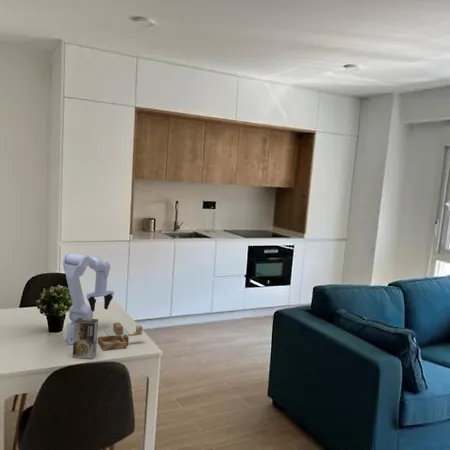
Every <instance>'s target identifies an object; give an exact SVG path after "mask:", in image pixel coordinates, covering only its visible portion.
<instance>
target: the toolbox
mask: <svg viewBox="0 0 450 450" xmlns="http://www.w3.org/2000/svg"><path fill="white" fill-rule="evenodd" d="M129 337H130V336H127V335H124V337H122V336H121V335H112V336H108V335H103V336H97V345H99V347H100V349H101V350H102V351H112V350H116V351H117V350H124V349H127V348H128V347H127V346H129Z"/></svg>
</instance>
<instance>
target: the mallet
mask: <svg viewBox="0 0 450 450" xmlns="http://www.w3.org/2000/svg"><path fill="white" fill-rule="evenodd" d="M128 335H129V336H128V337H134V336H135V337H136V336H141V335H143V326H142V325H140V324H139V325H136V327H135V331H131V332H129V333H128Z"/></svg>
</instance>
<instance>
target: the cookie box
mask: <svg viewBox="0 0 450 450" xmlns="http://www.w3.org/2000/svg"><path fill="white" fill-rule="evenodd" d="M98 327H99V319H98V318H92V319H87V318H78V319H77V320H76V322H75V323H74V343H73V344H72V345H73V346H72V358H76V359H78V358H79V359H89V360H90V359H91V360H93V359H94V358H95V356H96V355H97V347H98V346H97V345H98V331H99V330H98V329H99V328H98Z"/></svg>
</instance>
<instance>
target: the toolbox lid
mask: <svg viewBox="0 0 450 450" xmlns="http://www.w3.org/2000/svg"><path fill="white" fill-rule="evenodd" d="M112 326H113V327H112V328H111V329H104V332H105V334H106V336H112V335H121V336H122V337H124V335H127V336H128V337H130V336H129V335H128V333H130V332H129V330H128V329H127V328H124V326H123V325H122V323H120V322H118V321H117V322H113V325H112Z"/></svg>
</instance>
